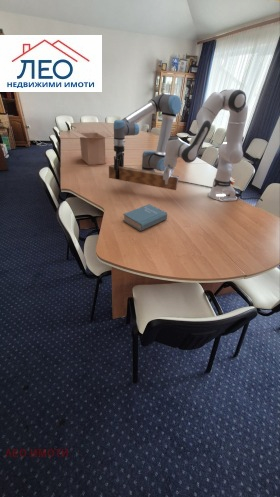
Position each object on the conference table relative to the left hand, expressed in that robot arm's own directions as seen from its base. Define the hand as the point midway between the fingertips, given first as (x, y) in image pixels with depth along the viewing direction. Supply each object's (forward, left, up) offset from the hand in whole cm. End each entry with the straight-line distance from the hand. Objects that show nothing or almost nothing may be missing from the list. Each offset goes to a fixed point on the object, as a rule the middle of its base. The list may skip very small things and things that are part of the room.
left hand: (118, 177), depth 170 cm
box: (+25, -80, -10) cm, 84 cm away
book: (-15, +49, -10) cm, 52 cm away
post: (-17, +8, -1) cm, 19 cm away
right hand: (-35, +16, +3) cm, 38 cm away
